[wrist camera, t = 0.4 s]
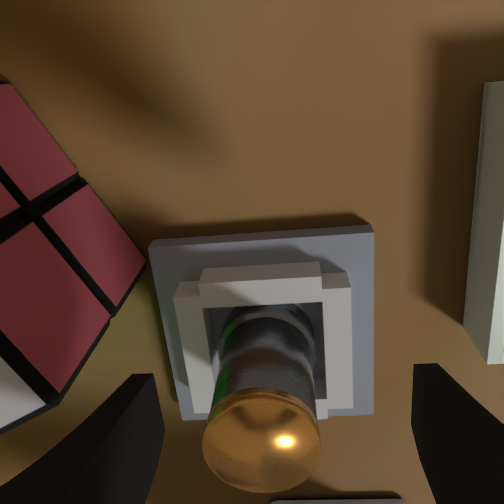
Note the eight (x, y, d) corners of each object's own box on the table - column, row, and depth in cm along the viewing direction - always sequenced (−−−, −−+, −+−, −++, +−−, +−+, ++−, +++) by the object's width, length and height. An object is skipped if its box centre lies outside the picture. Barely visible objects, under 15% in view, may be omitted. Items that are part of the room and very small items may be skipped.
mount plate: (370, 401, 25) (379, 437, 23) (185, 407, 26) (176, 442, 24) (370, 224, 21) (380, 245, 19) (153, 239, 22) (138, 261, 20)
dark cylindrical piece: (316, 372, 23) (327, 495, 17) (228, 375, 24) (207, 496, 17) (311, 293, 22) (322, 397, 15) (216, 299, 22) (188, 402, 16)
